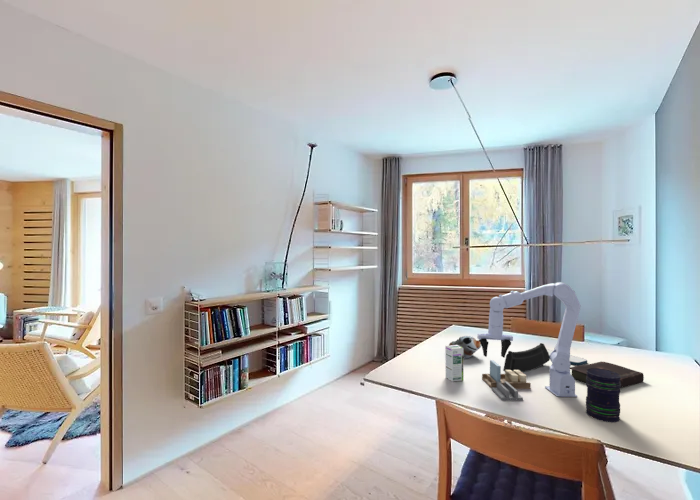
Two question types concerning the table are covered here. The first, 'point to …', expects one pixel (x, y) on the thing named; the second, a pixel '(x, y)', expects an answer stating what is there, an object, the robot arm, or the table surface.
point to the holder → (506, 392)
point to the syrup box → (454, 362)
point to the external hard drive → (572, 359)
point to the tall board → (495, 370)
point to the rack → (493, 383)
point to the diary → (626, 374)
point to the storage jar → (603, 395)
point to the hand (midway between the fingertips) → (494, 356)
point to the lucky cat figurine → (467, 345)
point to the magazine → (527, 359)
